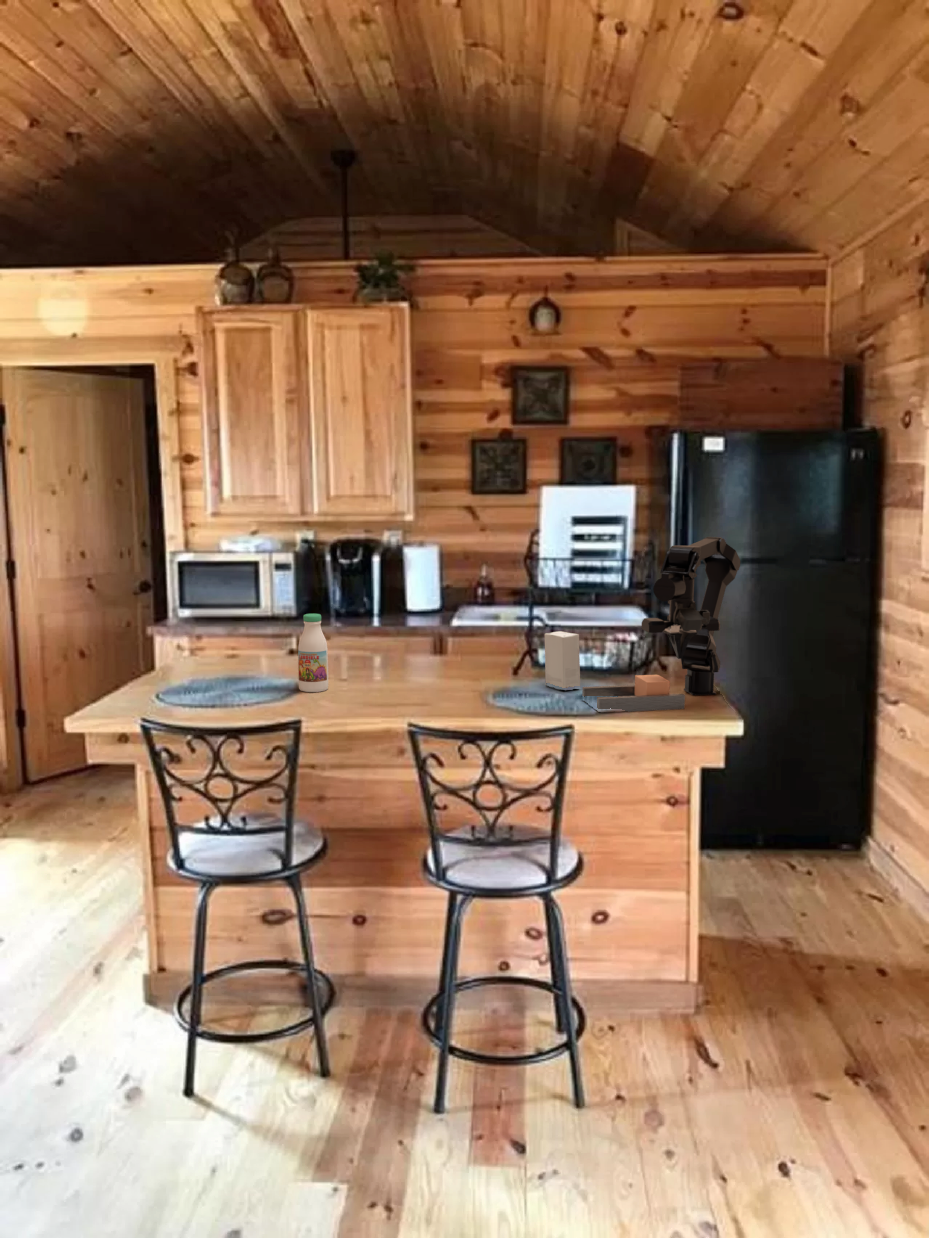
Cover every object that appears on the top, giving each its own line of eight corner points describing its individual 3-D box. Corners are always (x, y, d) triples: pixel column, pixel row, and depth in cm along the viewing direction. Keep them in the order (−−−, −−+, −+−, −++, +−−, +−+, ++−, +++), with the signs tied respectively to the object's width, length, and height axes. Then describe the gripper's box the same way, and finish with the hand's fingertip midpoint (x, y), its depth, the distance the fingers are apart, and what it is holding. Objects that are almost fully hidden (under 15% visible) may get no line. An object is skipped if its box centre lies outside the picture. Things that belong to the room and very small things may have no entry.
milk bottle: (301, 686, 277) (299, 612, 274) (330, 686, 277) (328, 612, 274) (296, 692, 270) (295, 616, 266) (326, 692, 270) (325, 616, 267)
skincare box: (580, 689, 275) (581, 634, 273) (562, 692, 272) (563, 636, 269) (560, 683, 282) (561, 629, 280) (543, 686, 279) (544, 631, 276)
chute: (663, 696, 267) (664, 683, 267) (684, 709, 255) (684, 695, 254) (582, 700, 263) (582, 687, 262) (598, 713, 250) (599, 698, 250)
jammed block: (656, 693, 264) (657, 674, 263) (669, 701, 256) (669, 681, 256) (634, 694, 263) (635, 675, 262) (646, 702, 255) (646, 682, 254)
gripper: (658, 602, 247) (656, 666, 250) (731, 600, 251) (728, 663, 254) (641, 595, 258) (639, 657, 261) (711, 594, 262) (709, 654, 264)
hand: (679, 658), depth 260 cm, fingers closed
